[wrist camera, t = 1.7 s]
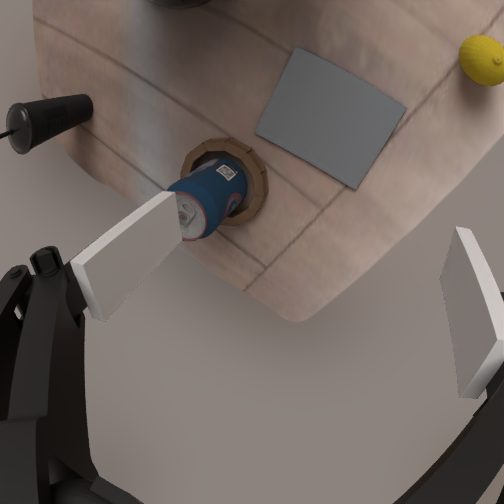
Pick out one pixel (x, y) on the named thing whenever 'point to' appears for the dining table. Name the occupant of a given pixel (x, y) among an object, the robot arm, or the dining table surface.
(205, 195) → the soda can
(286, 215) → the dining table surface
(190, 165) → the holder ring
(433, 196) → the dining table surface
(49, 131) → the drinking cup
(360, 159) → the mat
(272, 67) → the dining table surface
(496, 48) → the lemon
